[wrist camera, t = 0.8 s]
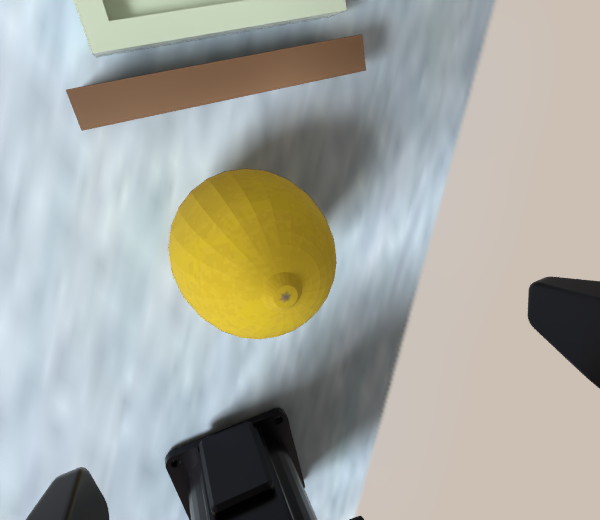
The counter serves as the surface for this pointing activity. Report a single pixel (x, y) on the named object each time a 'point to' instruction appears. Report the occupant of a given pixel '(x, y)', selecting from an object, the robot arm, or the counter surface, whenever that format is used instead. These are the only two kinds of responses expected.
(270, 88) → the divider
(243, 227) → the lemon
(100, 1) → the dish
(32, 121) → the counter surface
